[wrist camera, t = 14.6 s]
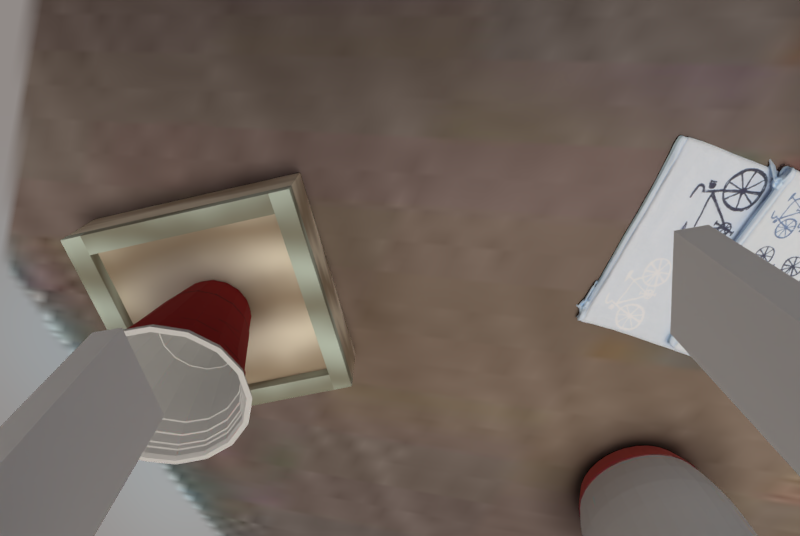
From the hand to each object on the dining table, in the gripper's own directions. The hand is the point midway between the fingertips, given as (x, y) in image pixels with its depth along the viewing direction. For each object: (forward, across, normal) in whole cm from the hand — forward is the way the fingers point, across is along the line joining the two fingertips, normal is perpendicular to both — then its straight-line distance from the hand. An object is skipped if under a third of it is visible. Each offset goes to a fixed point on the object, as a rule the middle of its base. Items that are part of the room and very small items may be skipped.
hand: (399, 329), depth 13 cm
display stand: (+31, -17, -12) cm, 38 cm away
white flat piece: (+32, +26, -18) cm, 45 cm away
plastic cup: (+27, -17, -12) cm, 34 cm away
